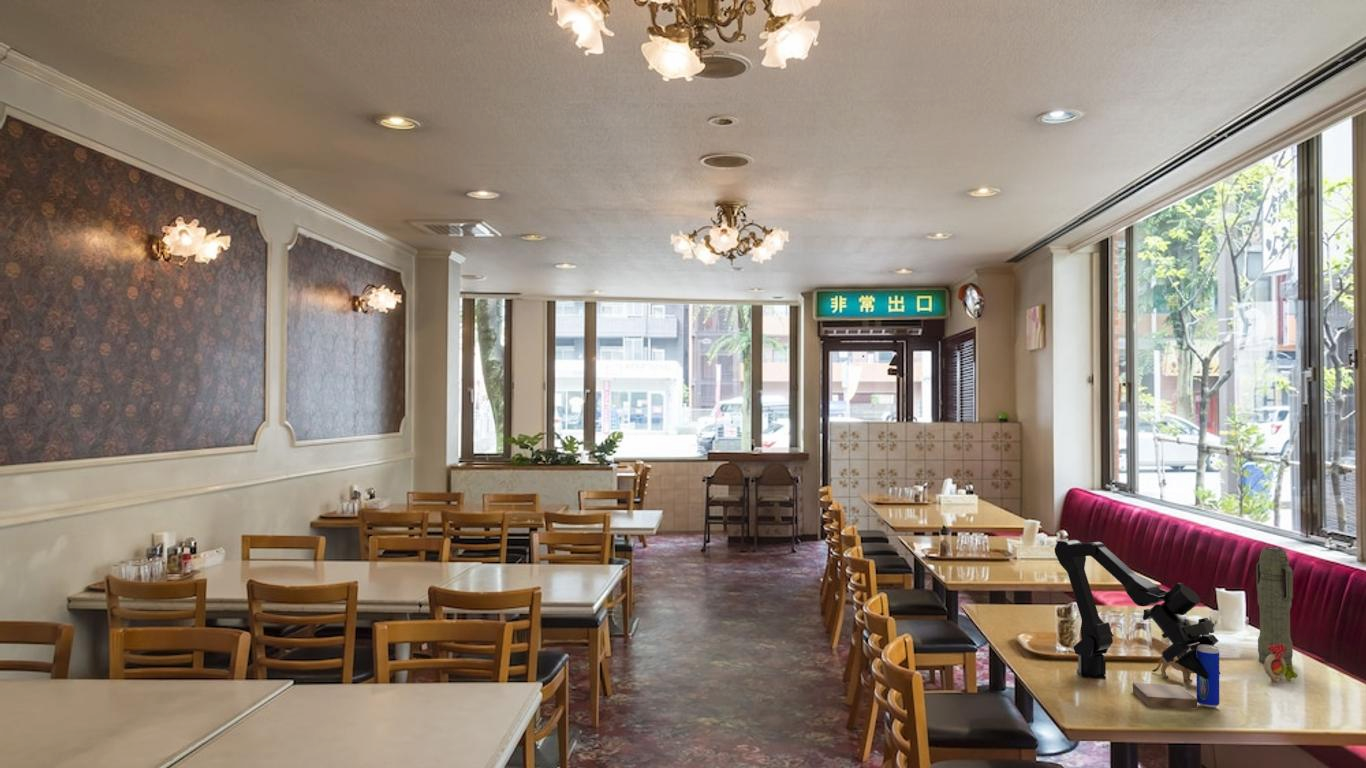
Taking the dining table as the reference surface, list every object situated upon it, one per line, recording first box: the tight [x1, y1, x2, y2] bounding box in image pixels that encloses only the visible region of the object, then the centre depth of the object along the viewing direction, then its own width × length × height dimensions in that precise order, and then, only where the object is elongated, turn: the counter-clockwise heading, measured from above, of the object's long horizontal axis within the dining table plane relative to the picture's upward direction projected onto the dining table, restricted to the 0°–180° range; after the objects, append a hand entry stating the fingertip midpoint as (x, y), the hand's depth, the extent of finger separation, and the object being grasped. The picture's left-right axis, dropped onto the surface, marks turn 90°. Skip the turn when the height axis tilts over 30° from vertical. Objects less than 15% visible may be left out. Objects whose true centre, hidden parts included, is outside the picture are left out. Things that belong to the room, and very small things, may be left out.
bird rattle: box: [1263, 643, 1299, 683], centre depth 258 cm, size 6×11×9 cm
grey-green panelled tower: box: [1255, 546, 1294, 666], centre depth 277 cm, size 9×12×35 cm
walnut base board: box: [1132, 682, 1198, 709], centre depth 240 cm, size 12×12×2 cm
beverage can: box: [1196, 645, 1220, 708], centre depth 235 cm, size 5×5×15 cm
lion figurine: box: [1151, 655, 1195, 685], centre depth 259 cm, size 15×5×9 cm, turn 36°
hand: (1213, 676), depth 234 cm, fingers closed on beverage can, 5 cm apart
